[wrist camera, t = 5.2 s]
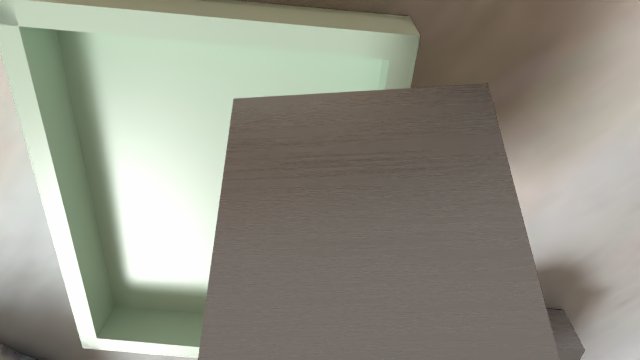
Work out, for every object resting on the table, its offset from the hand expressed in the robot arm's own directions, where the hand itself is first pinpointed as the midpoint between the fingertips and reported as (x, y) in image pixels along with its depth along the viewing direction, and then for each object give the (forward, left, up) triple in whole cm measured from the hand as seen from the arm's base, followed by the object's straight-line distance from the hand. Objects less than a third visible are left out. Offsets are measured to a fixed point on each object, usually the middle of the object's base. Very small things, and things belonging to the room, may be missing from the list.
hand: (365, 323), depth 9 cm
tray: (-4, +5, -11) cm, 13 cm away
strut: (-1, 0, -3) cm, 3 cm away
